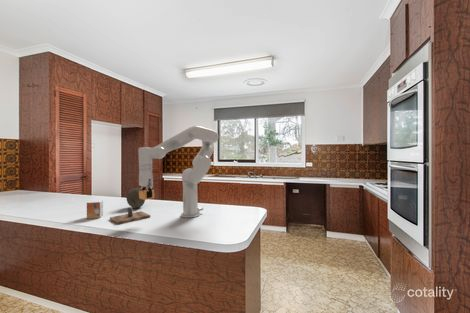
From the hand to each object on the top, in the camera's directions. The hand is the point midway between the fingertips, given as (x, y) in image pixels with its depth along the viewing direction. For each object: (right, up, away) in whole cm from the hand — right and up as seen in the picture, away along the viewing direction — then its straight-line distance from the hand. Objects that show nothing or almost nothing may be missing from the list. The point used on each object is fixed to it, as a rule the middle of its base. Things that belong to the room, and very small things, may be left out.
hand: (146, 196), depth 136 cm
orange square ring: (0, -1, 0) cm, 1 cm away
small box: (-39, -16, +11) cm, 43 cm away
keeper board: (-14, -16, +8) cm, 22 cm away
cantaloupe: (-22, -15, +36) cm, 45 cm away
